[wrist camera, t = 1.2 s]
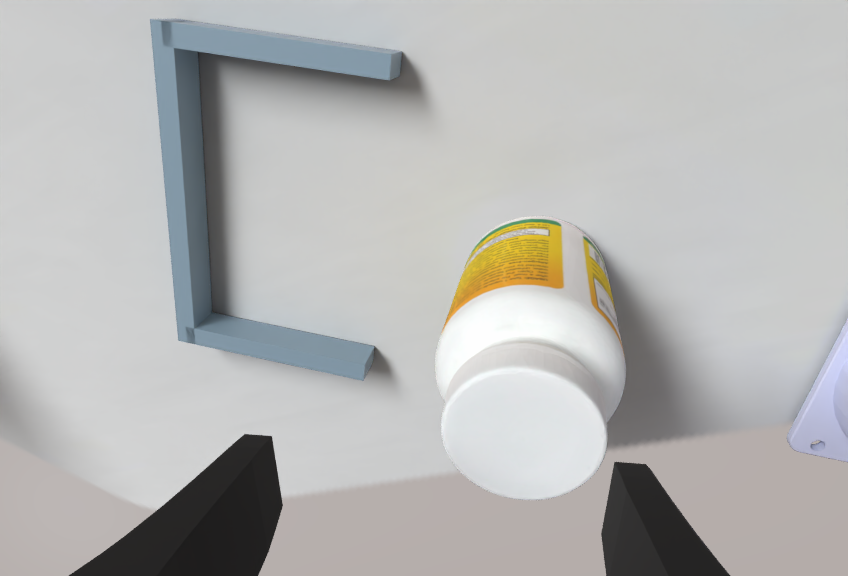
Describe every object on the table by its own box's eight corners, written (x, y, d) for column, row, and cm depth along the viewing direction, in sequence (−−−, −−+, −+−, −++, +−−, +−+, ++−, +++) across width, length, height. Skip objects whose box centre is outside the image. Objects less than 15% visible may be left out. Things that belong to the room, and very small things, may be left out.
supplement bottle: (635, 256, 21) (694, 419, 13) (556, 359, 24) (560, 554, 15) (507, 185, 21) (479, 302, 12) (441, 297, 23) (379, 459, 15)
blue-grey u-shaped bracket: (402, 51, 20) (391, 54, 18) (373, 361, 25) (363, 380, 24) (175, 18, 21) (150, 19, 19) (197, 324, 26) (178, 340, 25)
